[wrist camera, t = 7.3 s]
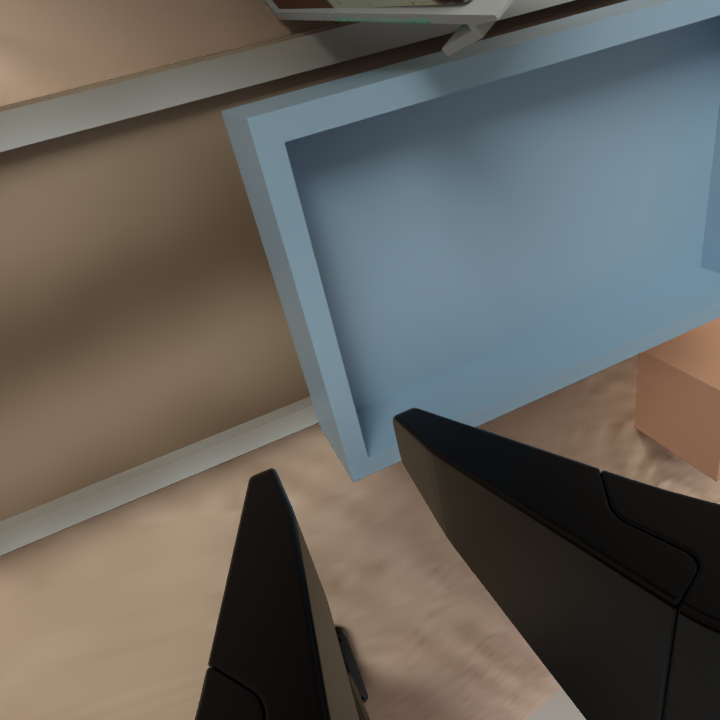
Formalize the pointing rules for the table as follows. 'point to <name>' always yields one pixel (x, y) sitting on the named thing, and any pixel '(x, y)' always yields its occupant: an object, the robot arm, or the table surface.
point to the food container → (401, 14)
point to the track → (156, 273)
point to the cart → (491, 216)
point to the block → (683, 396)
